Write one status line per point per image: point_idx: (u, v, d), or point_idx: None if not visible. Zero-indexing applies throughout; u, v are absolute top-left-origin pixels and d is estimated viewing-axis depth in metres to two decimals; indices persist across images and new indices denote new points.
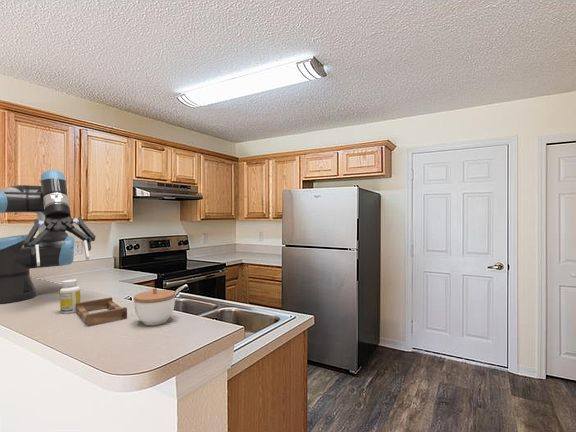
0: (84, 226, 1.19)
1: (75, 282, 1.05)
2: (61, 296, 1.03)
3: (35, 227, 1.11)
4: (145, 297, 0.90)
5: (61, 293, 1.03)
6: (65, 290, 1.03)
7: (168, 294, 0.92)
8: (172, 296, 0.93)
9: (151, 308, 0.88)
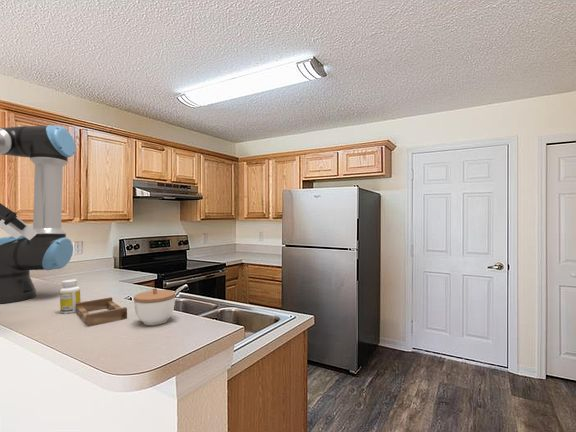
0: None
1: (75, 282, 1.05)
2: (61, 296, 1.03)
3: None
4: (145, 297, 0.90)
5: (61, 293, 1.03)
6: (65, 290, 1.03)
7: (168, 294, 0.92)
8: (172, 296, 0.93)
9: (151, 308, 0.88)
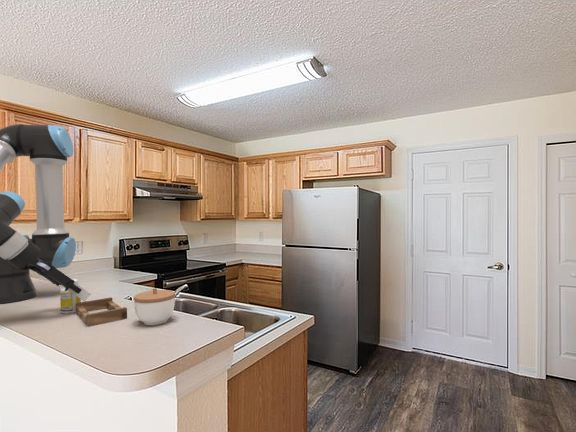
0: (52, 277, 0.97)
1: (76, 282, 1.05)
2: (61, 296, 1.03)
3: None
4: (145, 297, 0.90)
5: (61, 293, 1.03)
6: None
7: (168, 294, 0.92)
8: (172, 296, 0.93)
9: (151, 308, 0.88)
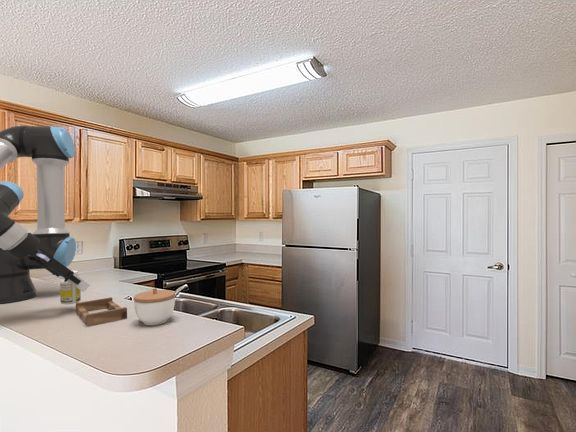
0: (51, 268, 0.97)
1: (76, 273, 1.05)
2: (61, 287, 1.03)
3: None
4: (145, 297, 0.89)
5: (61, 284, 1.03)
6: (65, 282, 1.03)
7: (168, 294, 0.92)
8: (172, 296, 0.93)
9: (151, 308, 0.88)
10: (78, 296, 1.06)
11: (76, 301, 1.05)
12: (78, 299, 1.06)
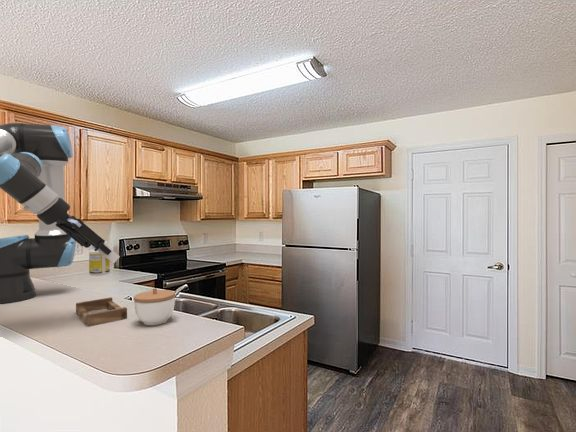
0: (82, 234, 0.92)
1: None
2: (91, 257, 0.98)
3: (65, 232, 0.98)
4: (145, 297, 0.90)
5: (91, 254, 0.98)
6: (95, 251, 0.98)
7: (168, 294, 0.92)
8: (172, 296, 0.93)
9: (151, 308, 0.88)
10: (107, 268, 1.00)
11: (105, 273, 1.00)
12: (107, 271, 1.00)
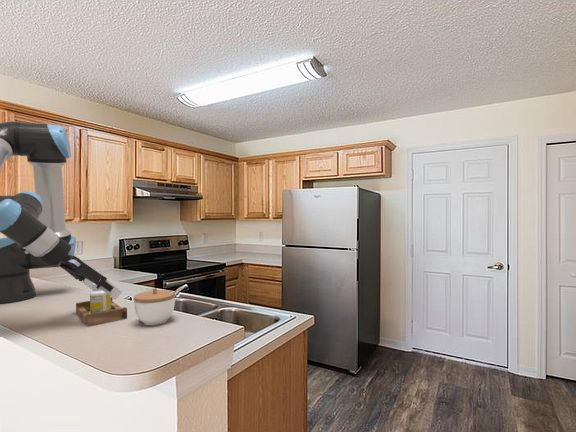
0: (83, 274, 0.91)
1: None
2: (91, 299, 0.98)
3: (63, 268, 0.99)
4: (145, 297, 0.90)
5: (91, 296, 0.98)
6: (96, 293, 0.98)
7: (168, 294, 0.92)
8: (172, 296, 0.93)
9: (151, 308, 0.88)
10: (109, 308, 1.00)
11: None
12: None
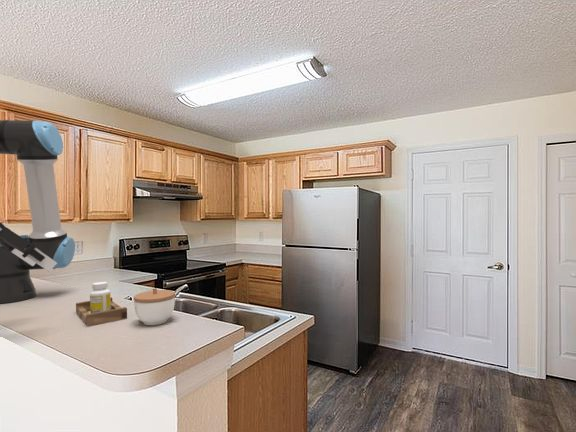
0: (5, 240, 0.79)
1: (106, 285, 1.00)
2: (91, 299, 0.98)
3: None
4: (145, 297, 0.90)
5: (91, 296, 0.98)
6: (96, 293, 0.98)
7: (168, 294, 0.92)
8: (172, 296, 0.93)
9: (151, 308, 0.88)
10: (109, 308, 1.00)
11: None
12: None
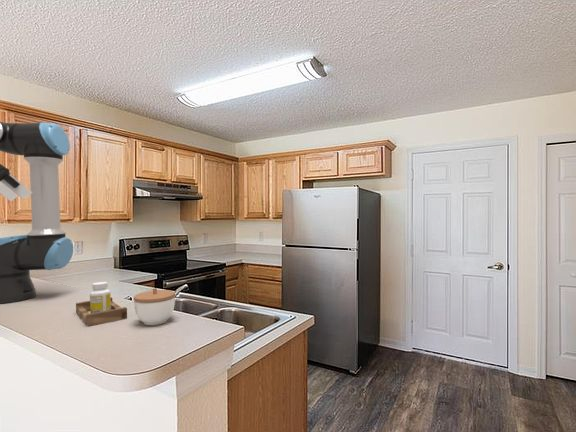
0: None
1: (105, 285, 1.00)
2: (91, 299, 0.98)
3: None
4: (145, 297, 0.90)
5: (91, 296, 0.98)
6: (96, 293, 0.98)
7: (168, 294, 0.92)
8: (172, 296, 0.93)
9: (151, 308, 0.88)
10: (109, 308, 1.00)
11: None
12: None
